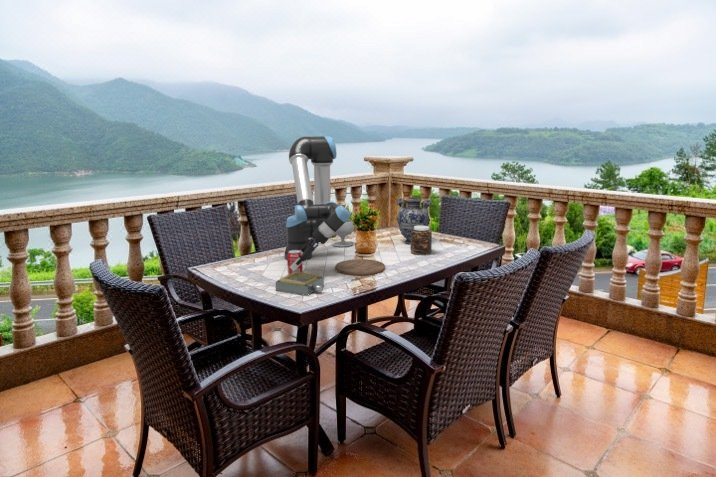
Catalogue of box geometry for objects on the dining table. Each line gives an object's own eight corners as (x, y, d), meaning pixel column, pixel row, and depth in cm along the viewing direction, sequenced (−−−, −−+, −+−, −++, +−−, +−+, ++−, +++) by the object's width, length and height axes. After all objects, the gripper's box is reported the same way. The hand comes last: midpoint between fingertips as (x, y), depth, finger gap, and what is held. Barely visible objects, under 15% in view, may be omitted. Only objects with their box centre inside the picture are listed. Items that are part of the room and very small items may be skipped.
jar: (430, 250, 274) (431, 224, 271) (431, 255, 263) (432, 229, 259) (410, 250, 275) (410, 224, 272) (410, 255, 264) (411, 228, 261)
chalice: (332, 242, 295) (331, 218, 292) (354, 242, 295) (354, 218, 292) (330, 247, 282) (329, 222, 278) (353, 247, 281) (353, 222, 278)
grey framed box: (275, 290, 205) (275, 279, 204) (293, 281, 218) (293, 270, 217) (316, 296, 197) (315, 285, 196) (331, 287, 210) (331, 275, 208)
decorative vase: (392, 244, 287) (393, 198, 282) (398, 238, 305) (400, 195, 299) (427, 247, 281) (429, 200, 276) (432, 241, 299) (434, 196, 293)
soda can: (295, 272, 231) (294, 248, 229) (305, 275, 227) (305, 251, 224) (284, 276, 226) (283, 251, 224) (295, 278, 222) (294, 254, 219)
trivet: (393, 266, 243) (393, 263, 242) (369, 279, 222) (369, 275, 221) (351, 260, 255) (351, 256, 255) (325, 271, 234) (325, 268, 234)
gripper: (330, 244, 212) (297, 278, 214) (328, 233, 236) (298, 263, 238) (317, 233, 210) (285, 267, 212) (317, 222, 234) (287, 253, 236)
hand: (292, 265), depth 225 cm, fingers open, 13 cm apart
